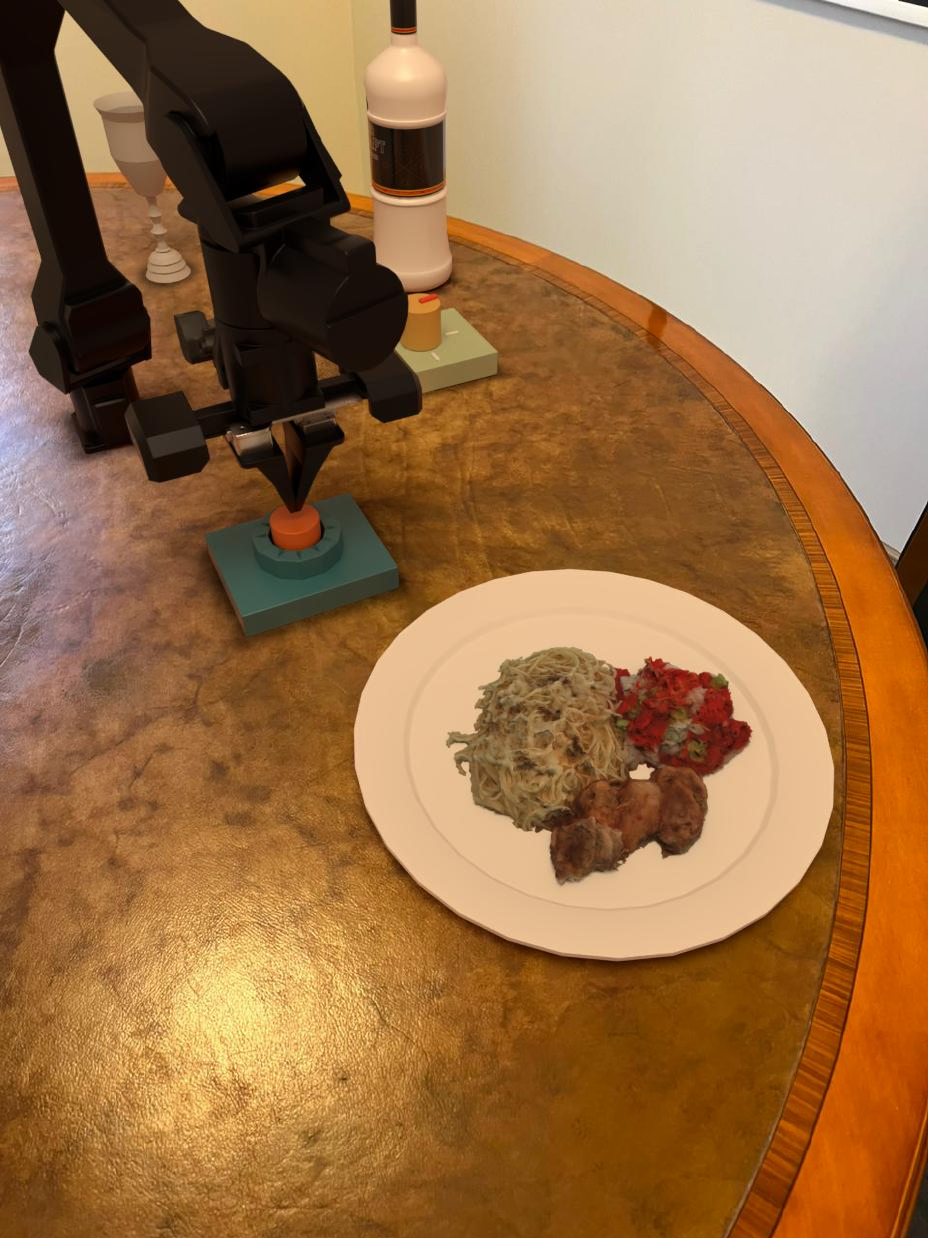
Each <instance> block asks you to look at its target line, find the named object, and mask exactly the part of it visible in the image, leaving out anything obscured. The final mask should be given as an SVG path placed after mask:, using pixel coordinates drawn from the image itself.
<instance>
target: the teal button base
mask: <svg viewBox="0 0 928 1238" xmlns="http://www.w3.org/2000/svg"><path fill="white" fill-rule="evenodd" d="M307 505H310V506H312V507H313V508H315V509H316V511H317V512H318V514H319V519H320V527H321V538H320V540H319V541H318V543H317V544H316V545H314V546H313V547H309V548H306V549H303V550H300V551H295V550H283V549H281V548H279V547H278V546H277V545H276V544H275V543H274V541H273V537H272V532H271V526H270V517H271V515H272V513H273V512H274V511H275V510H276V509H277V508H276V509H272V510H270V511H269V512H268V513H267V514H265V515H264V516H263V517H259V518H256V519H252V520H249V521H246V522H241V523H238V524H235V525H231V526H228V527H225V528H221V529H217V530H214V531H211V532H208V533H204V540H205V544H206V547H207V551H208V552H207V553H208V556H209V558H210V560H211V562H212V565H213V566H214V569H215V571H216V573H217V575H218V577H219V580H220V583H221V584H222V586H223V588H224V591H225V593H226V595H227V598H228V600H229V602H230V604H231V606H232V608H233V611H234V614H235V615H236V618H237V620H238V622H239V624H240V627H241V629H242V631H243V633H244V635H245V637H246V638H251V637H254V636H256V635H259V634H263V633H265V632H269V631H272V630H275V629H278V628H281V627H285V626H286V625H287V626H288V625H290V624H293V623H296V622H299V621H303V620H306V619H309V618H311V617H315V616H317V615H320V614H323V613H327V612H330V611H333V610H335V609H339V608H343V607H346V606H348V605H352V604H354V603H357V602H360V601H364V600H366V599H370V598H372V597H375V596H378V595H382V594H384V593H387V592H392V591H394V590H397V589H399V588H400V575H399V566H398V564H397V563H396V562H395V560H394V558H393V557H392V555H391V554H390V552H389V551H388V550H387V548H386V546H385V545H384V543H383V542H382V540H381V539H380V537H379V535H378V534H377V532H376V531H375V530H374V528H373V527H372V525H371V523H370V522H369V520H368V519H367V517H366V516H365V514H364V512H363V511H362V510H361V508H360V507H359V505H358V504H357V502H356V500H355V499H354V498H353V496H352V494H351V493H350V492H347V493H343V494H339V495H336V496H332V497H329V498H325V499H322V500H318V501H315V502H311V503H308V504H307Z"/></svg>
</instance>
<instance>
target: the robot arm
mask: <svg viewBox="0 0 928 1238" xmlns="http://www.w3.org/2000/svg"><path fill="white" fill-rule="evenodd" d="M66 12H67V14H68V15H69V16H70V17H71V19H72V20H73V21H74V22H75V23H76V24H77V25H78V27H79V28H80V29H81V31H83V32H84V35H86V36H87V37H88V38H89V39H90V41H91V42H92V43H93V44H94V45H95V47H96V48H97V49H98V51H100V52H101V54H102V55H103V56H104V57H105V58H106V59H107V61H108V62H109V63H110V65H111V66H113V68H114V69H115V70H116V71H117V73H119V75H120V76H121V77H122V78H123V79H124V81H125V82H126V83H127V84H128V85H129V86H130V89H132V91H134V92H135V94H136V95H137V96H138V98H139V99H140V101H141V102H142V104H143V109H144V121H145V133H146V140H147V142H148V144H149V145H150V147H151V148H152V150H153V151H154V152H155V154H156V155H157V157H158V158H159V160H160V162H161V164H162V167H163V169H164V171H165V172H166V174H167V178H168V179H169V180H170V181H171V183H172V184H173V186H174V187H175V189H176V190H177V192H179V194H180V195H181V197H182V199H181V201H180V202H179V203H178V204H177V206H176V210H177V213H178V214H179V216H180V217H181V218H183V219H185V220H187V221H188V222H190V223H193V224H194V225H196V227H197V234H198V239H199V244H200V249H201V253H202V254H201V255H202V259H203V264H204V269H205V275H206V279H207V283H208V284H207V285H208V289H209V295H210V299H211V305H212V312H213V318H209V319H207V315H206V314H205V312H203V311H201V310H200V309H195V310H190V311H186V312H181V313H176V314H173V319H174V325H175V329H176V334H177V338H178V343H179V346H180V350H181V353H182V356H183V358H184V361H186V362H187V363H188V364H189V365H192V366H194V365H197V364H202V363H206V362H211V361H212V364H213V367H214V369H215V370H216V374H217V381H218V384H220V387H221V389H222V390H223V391H226V390H228V391H229V395H230V396H229V397H230V400H226V401H223V402H218V403H215V404H210V405H206V406H202V407H199V408H194V409H193V408H192V406H191V404H190V402H189V400H188V398H187V396H186V394H185V392H184V390H179V391H174V392H170V393H166V394H161V395H157V396H153V397H149V398H145V399H143V398H142V397H141V396H140V393H139V389H138V386H137V381H136V379H135V378H136V377H135V374H134V370H133V366H135V365H138V364H140V363H143V362H145V361H146V362H147V361H149V360H152V359H153V346H152V345H153V344H152V326H151V324H152V323H151V317H150V314H149V313H148V309H147V307H146V306H145V305H144V300H143V293H142V291H141V290H140V288H139V287H138V286H137V285H136V284H134V283H132V282H131V280H129V278H127V277H126V276H125V274H123V273H122V272H121V271H120V270H119V269H118V268H117V267H116V266H115V265H114V264H113V263H112V262H111V261H110V260H109V257H108V255H107V251H106V247H105V244H104V240H103V236H102V232H101V228H100V224H99V221H98V216H97V213H96V208H95V204H94V200H93V197H92V193H91V190H90V189H91V188H90V185H89V182H88V177H87V174H86V169H85V165H84V162H83V158H82V154H81V150H80V146H79V143H78V138H77V135H76V130H75V127H74V123H73V119H72V115H71V111H70V108H69V103H68V100H67V96H66V92H65V88H64V87H65V86H64V84H63V80H62V76H61V73H60V68H59V65H58V61H57V56H56V47H57V44H58V40H59V36H60V33H61V29H62V25H63V21H64V18H65V15H66ZM0 130H1V134H2V137H3V140H4V143H5V146H6V149H7V150H6V151H7V153H8V156H9V160H10V164H11V167H12V170H13V173H14V175H15V178H16V179H15V180H16V182H17V185H18V188H19V192H20V195H21V198H22V202H23V205H24V208H25V211H26V214H27V218H28V221H29V224H30V227H31V230H32V232H33V236H34V241H35V243H36V246H37V249H38V253H39V256H40V264H39V267H38V271H37V273H36V277H35V280H34V285H33V287H32V291H31V294H30V299H31V303H32V307H33V311H34V315H35V319H36V322H37V325H36V327H35V329H34V332H33V335H32V339H31V341H30V345H29V348H28V354H29V356H30V359H31V361H32V362H33V365H34V366H35V369H36V371H37V373H38V375H39V376H40V377H41V378H43V379H44V380H45V381H46V382H48V383H49V384H50V385H52V386H53V387H54V388H55V389H57V390H58V391H59V392H61V393H62V394H63V395H68V394H69V398H70V401H71V404H72V406H73V409H74V412H72V413H71V419H72V422H73V424H74V427H75V430H76V433H77V435H78V438H79V441H80V444H81V447H82V449H83V452H84V453H93V452H97V451H102V450H105V449H109V448H113V447H117V446H121V445H125V444H129V443H132V444H133V446H134V449H135V451H136V453H137V455H138V458H139V460H140V462H141V465H142V467H143V470H144V472H145V475H146V477H147V481H150V482H154V483H158V484H161V483H166V482H170V481H172V480H177V479H180V478H184V477H188V476H191V475H195V474H199V473H201V472H202V471H203V470H204V468H205V467H206V466H207V464H208V463H209V462H210V461H211V456H210V452H209V448H208V444H207V440H210V439H215V438H219V437H223V438H224V440H225V442H226V444H227V446H228V448H229V450H230V452H231V453H232V455H233V457H234V459H235V460H236V463H237V464H238V466H239V468H241V469H243V470H251V469H258V471H259V472H260V473H261V474H262V475H263V476H264V477H265V478H266V479H267V480H268V481H269V482H270V483H271V484H272V486H273V488H274V489H275V490H276V492H277V494H278V495H279V497H280V499H281V500H282V502H283V505H286V507H287V509H288V510H289V512H290V513H291V514H292V513H295V512H299V511H301V510H302V507H303V505H304V504H306V500H307V498H308V495H309V493H310V491H311V489H312V487H313V484H314V482H315V480H316V477H317V475H318V473H319V471H320V470H321V469H322V467H323V465H324V463H325V462H326V460H327V458H328V456H329V455H330V453H331V452H332V450H333V448H335V447H336V446H341V445H342V444H344V443H345V440H346V435H345V432H344V430H343V429H342V427H341V426H340V425H339V423H338V422H337V416H336V415H338V409H342V408H346V407H349V406H353V405H357V404H361V403H363V401H364V400H367V404H368V405H367V406H368V413H369V414H370V416H371V418H374V419H376V420H377V421H379V422H380V423H382V424H388V423H391V422H395V421H399V420H403V419H407V418H410V417H414V416H417V415H420V413H421V411H422V410H423V407H424V406H423V393H422V387H421V383H420V380H419V377H418V375H417V374H416V373H415V372H414V371H413V370H412V368H411V367H410V366H409V365H408V364H407V363H406V361H405V360H404V359H403V358H402V357H401V356H400V354H399V353H398V352H397V351H396V350H395V348H396V346H397V344H398V343H399V341H400V339H401V337H402V334H403V332H404V330H405V326H406V322H407V318H408V308H409V302H408V292H405V291H404V288H403V285H402V282H401V280H400V279H399V277H398V276H397V275H396V273H394V272H393V271H392V270H390V269H389V268H388V267H385V266H383V265H381V264H379V263H377V262H376V246H375V244H374V242H373V240H371V239H369V238H368V237H365V236H363V235H361V234H358V233H349V232H346V231H344V230H342V229H340V228H337V227H336V226H333V225H331V219H333V218H336V217H339V216H341V215H344V214H347V213H350V212H351V210H352V204H351V202H350V199H349V197H348V195H347V192H346V191H345V188H344V186H343V184H342V182H341V179H342V177H343V174H342V172H341V171H340V169H339V167H338V166H337V164H336V162H335V161H334V159H333V157H332V155H331V153H330V152H329V151H328V149H327V148H326V146H325V144H324V142H323V141H322V138H321V135H320V133H319V132H318V130H317V128H316V125H315V123H314V121H313V119H312V117H311V115H310V113H309V111H308V109H307V107H306V104H305V102H304V101H303V98H302V97H301V96H300V94H299V92H298V90H297V89H296V87H295V86H294V83H292V81H291V80H290V79H289V78H288V76H287V75H285V74H284V73H283V71H281V70H280V69H279V67H277V66H276V65H274V64H273V63H272V62H271V61H270V60H268V59H267V57H265V56H263V55H262V54H261V53H260V52H259V51H257V50H256V49H255V48H254V47H253V46H252V45H251V44H249V43H247V42H246V41H244V40H240V39H238V38H236V37H233V36H230V35H228V34H224V33H222V32H219V31H217V30H214V29H211V28H209V27H207V26H205V25H204V24H203V23H202V22H200V21H199V20H198V19H197V18H196V17H194V16H193V15H192V13H191V12H190V11H189V10H188V9H187V8H186V7H185V6H184V4H182V2H181V1H180V0H0ZM298 177H299V178H300V180H301V181H302V182H303V184H304V186H300V187H298V188H294V189H291V190H288V191H285V192H283V193H280V194H277V195H274V196H271V197H268V198H265V199H264V198H261V197H259V196H258V195H255V193H259V192H260V191H264V190H267V189H270V188H273V187H276V186H279V185H283V184H285V183H288V182H290V181H294V180H296V179H297V178H298ZM316 354H317V355H319V356H320V357H322V358H323V359H326V360H327V361H328V362H330V363H333V364H334V365H336V366H337V367H338V373H339V374H338V375H333V376H330V377H325V378H319V375H318V368H317V359H316ZM278 424H281V426H282V430H283V435H284V448H285V453H284V451H283V449H282V448H281V446H280V445H279V443H278V442H277V439H276V438H275V436H274V434H273V432H272V431H273V430H272V428H273V426H274V425H278Z"/></svg>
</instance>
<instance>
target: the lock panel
mask: <svg viewBox="0 0 928 1238" xmlns="http://www.w3.org/2000/svg"><path fill="white" fill-rule="evenodd" d="M395 350H396V351H397V352H398V353H399V354H400V356H401V357H402V358H403V359H404V360H405V361H406V363H407V364H408V365H409V366H410V367H411V368H412V370H413V371H414V372H415V373H416V374H417V375H418V377H419V380H420V383H421V387H422V394H425V393H429V392H433V391H437V390H442V389H445V388H449V387H452V386H456V385H460V384H464V383H468V382H471V381H475V380H480V379H483V378H488V377H492V376H495V375H497V374H498V360H499V359H498V358H499V357H498V355H499V352H498V350H497V349H496V348H495V347H494V346H493V345H491V344H490V342H489V341H488V340H487V339H485V337H484V336H483V335H482V334H481V333H479V331H478V330H477V329H476V328H475V327H474V326H472V324H471V323H469V321H467V320H466V318H465V317H464V316H463V315H461V313H460V312H459V311H458V310H456V308H455V307H450V308H446V309H441V343H440V345H439V346H438V347H436V348H434V349H432V350H428V351H413V350H409V349H407V348H405V347H404V346H403V345H402V344H401V340H400V341H399V343H398V344H397V346H396V348H395Z"/></svg>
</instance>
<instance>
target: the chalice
mask: <svg viewBox="0 0 928 1238" xmlns="http://www.w3.org/2000/svg"><path fill="white" fill-rule="evenodd" d="M92 106H93V107H94V109H95V110H96V111H97V112H98V114H99V115H100V116H101V120H102V125H103V128H104V133H105V138H106V141H107V145H108V150H109V153H110V157H111V158H112V160H113V162H114V163H115V164H116V167H117V168H118V170H119V171H120V173H121V175H122V176H123V177H124V179H125V180H126V181H127V183H128V184H129V185H130V187H131V189H132V190H134V192H135V193H136V195H138V196H140V197H145V199H146V202H147V203H148V204H147V205H148V211H147V214H146V215H147V216H148V218H150V220H151V222H152V228H151V229H150V234H152V235H153V236H154V238H155V241H156V248H155V250H154V251H152V252H151V253H150V255H149V256H148V260H147V261H148V262H147V265H146V269H147V270H146V272H145V277H146V279H147V280H148V281H150V282H153V283H157V284H158V283H159V284H171V283H175V282H180V281H183V280H185V279H186V278H187V277H189V276H190V275H191V273H192V271H191V268H190V267H189V266H188V265H187V262H186V261H185V259H184V258H183V256H182V254H181V253H180V252H178V251H177V250H176V249H174V248H172V247H170V246H168V244H167V242H166V234H167V232H168V229H167V228H166V227H164V225H163V223H162V216H163V215H164V214H163V212H162V211H161V210H160V207H159V205H158V202H157V201H158V200H157V197H158V196H159V195H161V194H162V193H164V190H165V186H166V181H167V178H168V175H167V174H166V172H165V171H164V169H163V167H162V164H161V162H160V160H159V158H158V157H157V155H156V154H155V152H154V151H153V150H152V148H151V147H150V145H149V144H148V142H147V140H146V133H145V121H144V109H143V104H142V102H141V101H140V99H139V98H138V96H137V95H136V94H135V92H134V91H133V90H131V91H130V90H128V91H119V92H113V93H108V94H105V95H101V96H100V97H97V98H95V100H93V102H92Z"/></svg>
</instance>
